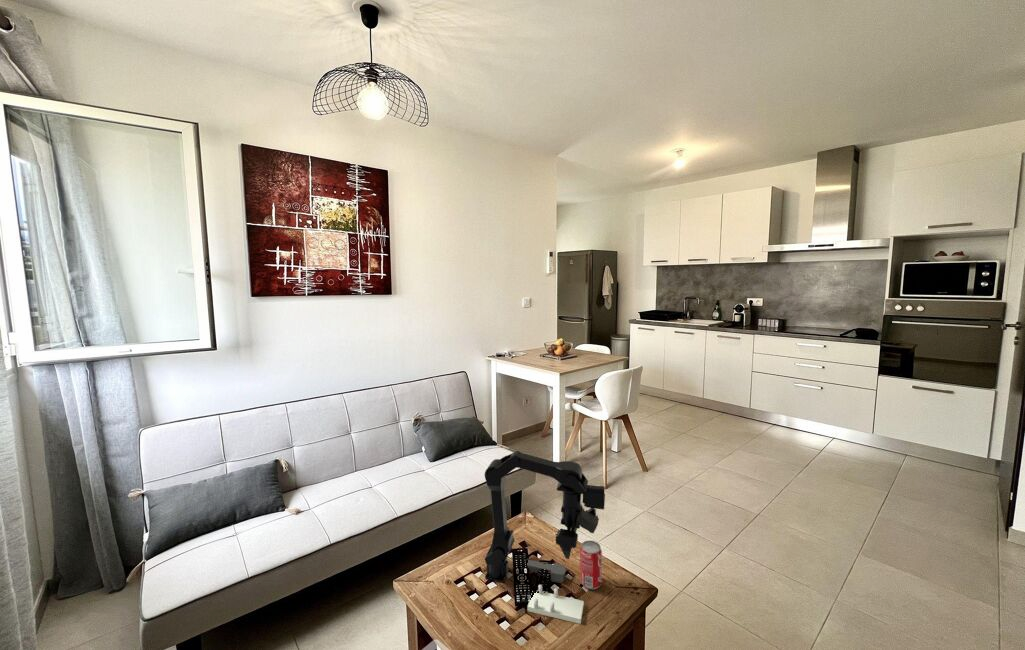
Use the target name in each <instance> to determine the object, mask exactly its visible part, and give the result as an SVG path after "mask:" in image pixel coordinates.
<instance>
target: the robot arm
mask: <svg viewBox="0 0 1025 650" xmlns="http://www.w3.org/2000/svg"><path fill="white" fill-rule="evenodd" d="M516 468H517V469H521V470H525V471H528V472H532V473H535V474H539V475H542V476H546V477H550V478H552V479H554V480H555V481H556V482H557V485H556V486H557V487H556V491H558V492H562V503H561V504H562V505H561V509H560V512H561V519H560V525H563V526H564V527H566V529H565V528H559V529H558V530H557V532H556V535H555V544H556V545H558V546H559V547H560V550H561V551H562V553H563V556H564V557H565V559H567V560H569V559H570V557H571V554H572V549H574V548H577V544H578V542H579V541H578V538H579V534H578V533H577V531H578V530H577V529H579V530H580V528H582V529H585V530H586V531H587V532H589V533H590V534H595V532H596V530H597V527H598V525H599V520H600V518H599V515H597V510H603V511H604V510H605V500H606V493H605V489H606V488H605V487H606V486H604V485H593V484H589V480H588V478H587V477H586V475H585V474H584V473H583V468H582V467H581V465H580V464H579V463H578V462H574V461H566V460H563V461H554V460H553V461H552V460H549V459H545V458H541V457H538V456H534V455H531V454H527V453H523V452H521V451H519V450H516V451H513V452H512V453H510V454H507V455H505V456H502V457H501V458H494V459H493V460H492V461H491V462H490V464H489V465H488V467H487V468H486V470H485V472H484V479H485V482H486V486H487V488H488V489H489V490H490V497H491V499H490V500H491V510H492V520H493V531H494V532H493V535H492V541H491V545H490V547H489V549H488V551H487V553H486V554H485V557H484V561H485V564H486V573H485V576H484V578H485V579H487V580H491V581H493V582H494V581H495V582H499V583H503V582H504V581H505V579H506V577H508V574H509V560H508V556H509V553H511V550H512V549H513V546H514V543H515V538H514V530H510V529H509V527H508V522H507V521H508V520H507V507H506V496H505V483H506V478H507V475H508V474H510V473H511V472H512V471H514V470H515V469H516ZM582 504H583V505H582ZM583 506H584V507H586V508H589V509H586V510H585V508H584V507H583Z"/></svg>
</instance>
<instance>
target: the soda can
mask: <svg viewBox="0 0 1025 650" xmlns="http://www.w3.org/2000/svg"><path fill="white" fill-rule="evenodd" d="M579 581H580V583H581V585H582V586H583V587H584V588H586V589H587V590H591V591H592V590H597V589H598V588H600V587H601V586H602V584H603V583H602V582H603V550H602V549H601V545H600V544H599V543H598V542H596V541H594V540H585V541H583V542H582V543H581V547H580V549H579Z"/></svg>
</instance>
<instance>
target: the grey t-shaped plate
mask: <svg viewBox="0 0 1025 650" xmlns="http://www.w3.org/2000/svg"><path fill="white" fill-rule="evenodd" d="M527 560H528V563H527V566H528V568H529V569H530V570H531V571H532V572H535V573H537V572H538V571H539V570H541V569H545V570H548V571H549V573H550V575H551V579H550V581H551V580H552V581H551V582H553V583H558V584H561V585H562V584H564V580H565V576H566V564H561V563H556V562H553V564H551V563H547V562H545V563H546V564H543V563H544V562H541V561H537V560H531V559H527Z"/></svg>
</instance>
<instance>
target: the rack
mask: <svg viewBox="0 0 1025 650" xmlns="http://www.w3.org/2000/svg"><path fill="white" fill-rule="evenodd" d="M538 591H539V593H537V592H536V593H534V595H533V597H532V598H531V597H530V598H531V600H530V599H529V600H528V601H529V602H528V604H527V606H526V607H527V612H530V613H535V614H538V615H541V616H546V617H551V618H554V619H559V620H562V621H566V622H567V621H568V622H572V623H575V624H579V625H581V623H582V617H583V611H584V606H585V605H584V603H585V601H584V600H580V599H576V598H572V597H567V596H564V595H559V589H558V587H557V588H556V587H555V588H553V593H550V592H546V591H543V585H542V584H538ZM544 592H545V593H544Z"/></svg>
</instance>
